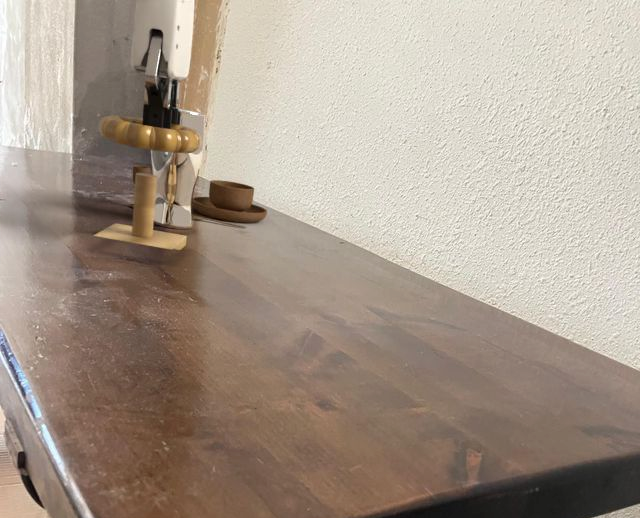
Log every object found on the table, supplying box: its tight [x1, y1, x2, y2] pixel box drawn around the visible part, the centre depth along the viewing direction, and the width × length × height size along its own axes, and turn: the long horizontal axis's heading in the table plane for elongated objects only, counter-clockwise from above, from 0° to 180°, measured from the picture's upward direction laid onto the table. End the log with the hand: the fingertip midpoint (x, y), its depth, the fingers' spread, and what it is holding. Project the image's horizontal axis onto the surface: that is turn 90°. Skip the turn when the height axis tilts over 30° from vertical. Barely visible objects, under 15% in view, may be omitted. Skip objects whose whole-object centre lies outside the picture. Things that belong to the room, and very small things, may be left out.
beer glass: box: [150, 107, 206, 230], centre depth 101 cm, size 7×7×15 cm
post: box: [93, 173, 188, 251], centre depth 88 cm, size 9×9×8 cm
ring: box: [98, 115, 202, 153], centre depth 85 cm, size 11×11×2 cm
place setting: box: [129, 164, 268, 229], centre depth 117 cm, size 18×20×6 cm
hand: (158, 141), depth 89 cm, fingers closed on ring, 2 cm apart
